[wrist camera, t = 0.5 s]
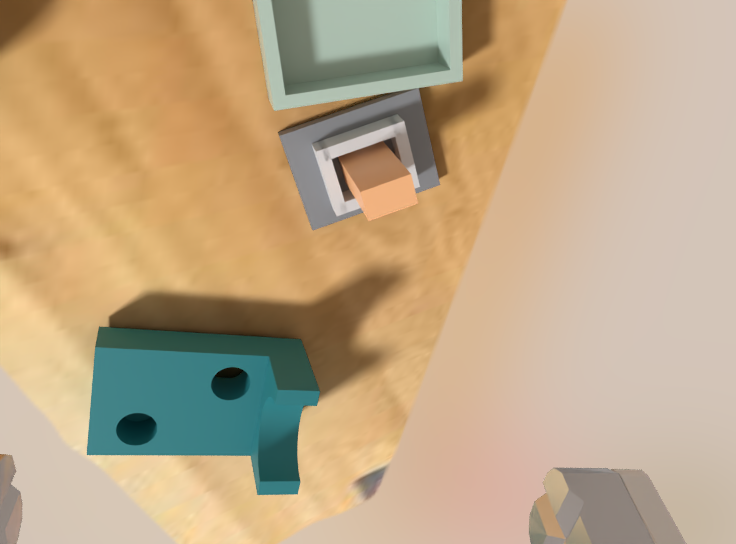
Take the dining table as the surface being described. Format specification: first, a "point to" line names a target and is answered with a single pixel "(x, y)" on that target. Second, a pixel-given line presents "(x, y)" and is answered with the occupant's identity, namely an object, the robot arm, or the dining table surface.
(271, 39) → the tray
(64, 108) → the dining table surface
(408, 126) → the grey socket base plate
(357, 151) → the orange rectangular block
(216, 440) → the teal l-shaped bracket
